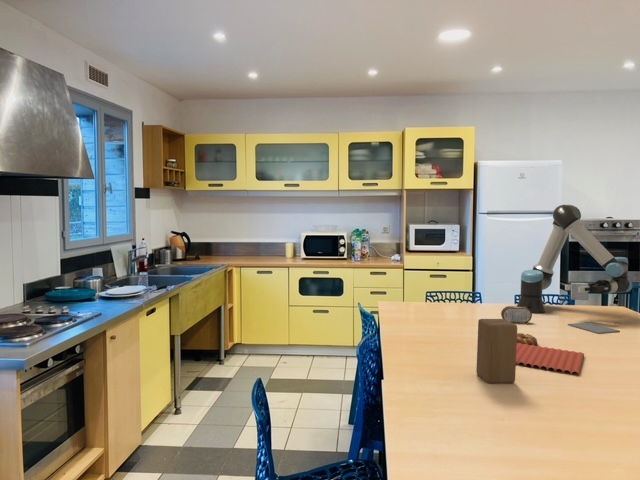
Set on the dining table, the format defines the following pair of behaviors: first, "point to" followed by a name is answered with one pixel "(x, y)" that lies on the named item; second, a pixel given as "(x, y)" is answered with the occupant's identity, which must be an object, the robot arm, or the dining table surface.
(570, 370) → the corrugated roof tile
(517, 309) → the tin
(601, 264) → the robot arm
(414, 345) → the dining table surface
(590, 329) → the slate mat
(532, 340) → the pretzel
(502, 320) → the wooden block
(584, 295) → the medicine box
